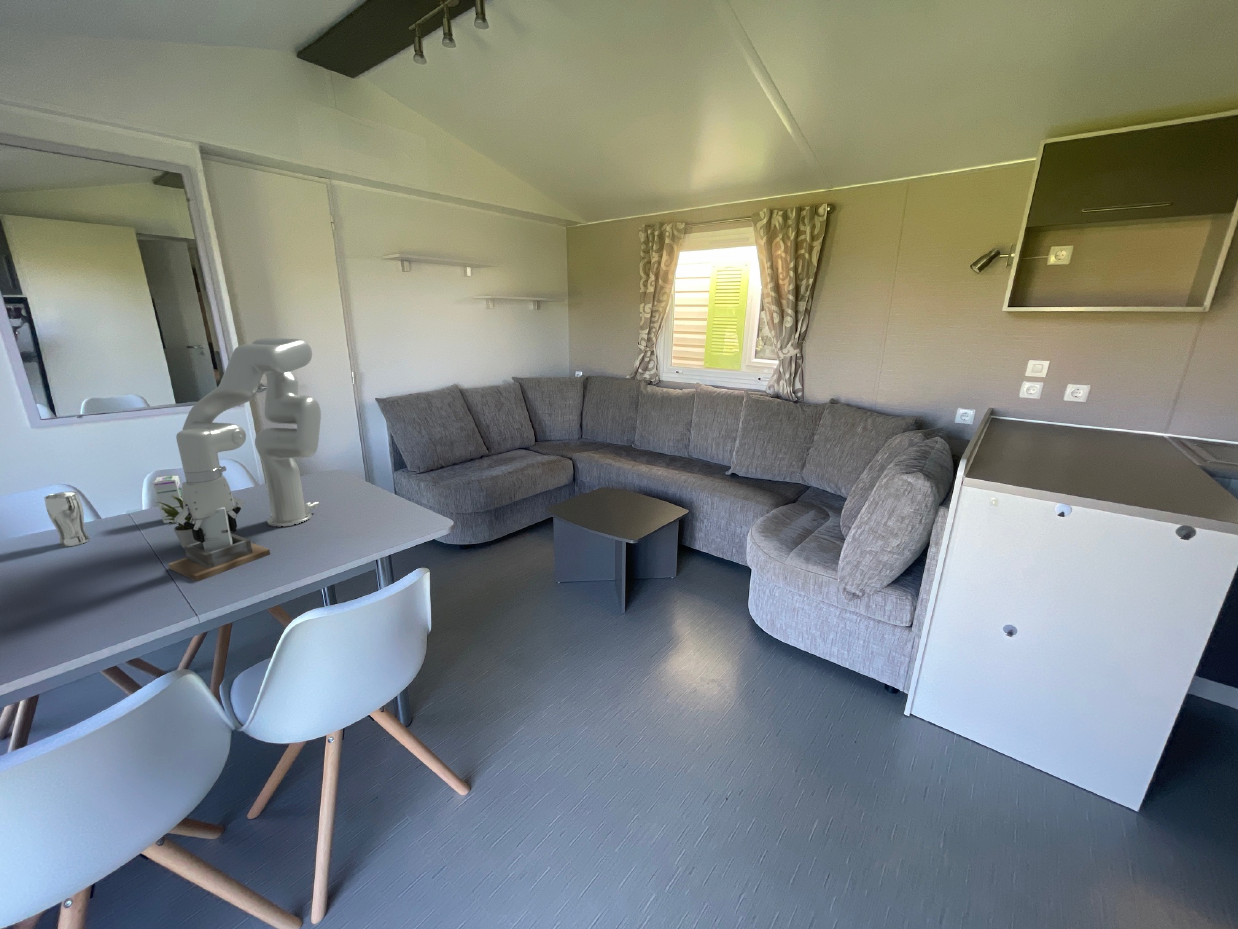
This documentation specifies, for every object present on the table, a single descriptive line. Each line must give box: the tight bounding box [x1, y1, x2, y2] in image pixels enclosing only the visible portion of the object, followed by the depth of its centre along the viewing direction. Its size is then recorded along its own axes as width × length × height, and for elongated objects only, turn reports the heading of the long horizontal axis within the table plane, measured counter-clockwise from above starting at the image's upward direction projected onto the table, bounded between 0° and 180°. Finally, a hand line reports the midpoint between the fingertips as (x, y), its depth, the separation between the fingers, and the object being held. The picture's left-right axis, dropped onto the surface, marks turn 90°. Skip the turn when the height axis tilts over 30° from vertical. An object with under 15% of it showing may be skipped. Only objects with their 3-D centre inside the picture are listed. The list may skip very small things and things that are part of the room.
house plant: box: [156, 496, 198, 550], centre depth 148 cm, size 14×14×16 cm
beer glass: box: [43, 491, 91, 548], centre depth 146 cm, size 7×7×15 cm
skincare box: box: [200, 507, 233, 552], centre depth 137 cm, size 6×4×12 cm
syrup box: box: [152, 474, 183, 524], centre depth 165 cm, size 6×6×14 cm
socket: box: [168, 532, 271, 582], centre depth 139 cm, size 18×14×6 cm
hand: (216, 535), depth 138 cm, fingers closed on skincare box, 7 cm apart
